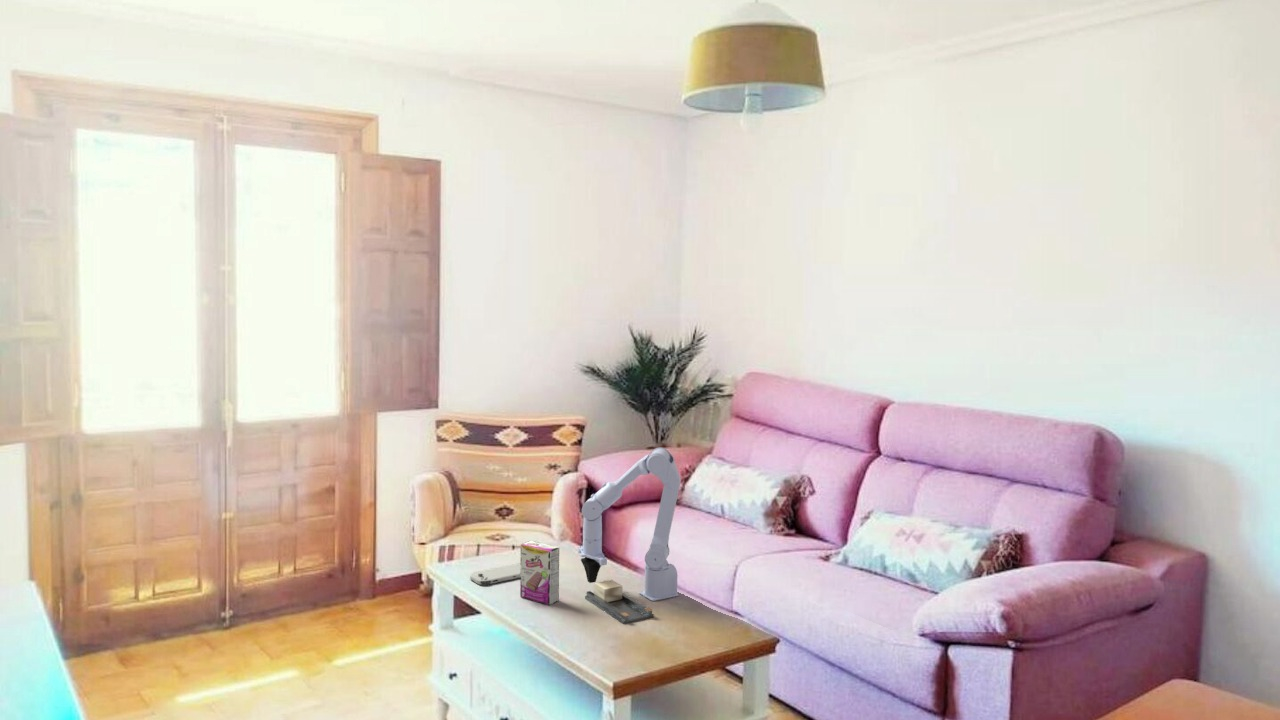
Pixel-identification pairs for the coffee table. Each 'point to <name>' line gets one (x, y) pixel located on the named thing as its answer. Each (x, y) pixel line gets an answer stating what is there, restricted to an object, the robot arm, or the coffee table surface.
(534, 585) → the candy bar box
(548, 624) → the coffee table surface
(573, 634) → the coffee table surface
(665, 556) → the robot arm
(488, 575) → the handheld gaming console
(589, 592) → the chute
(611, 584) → the block
